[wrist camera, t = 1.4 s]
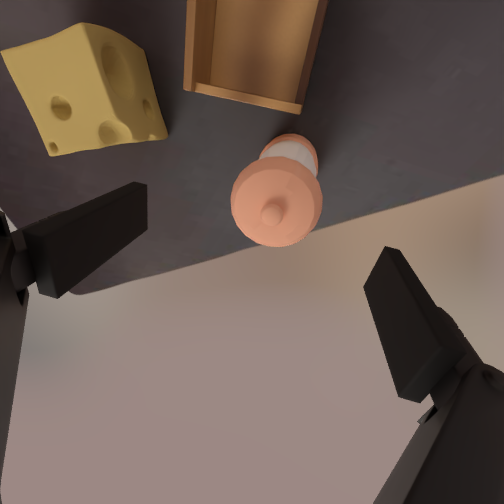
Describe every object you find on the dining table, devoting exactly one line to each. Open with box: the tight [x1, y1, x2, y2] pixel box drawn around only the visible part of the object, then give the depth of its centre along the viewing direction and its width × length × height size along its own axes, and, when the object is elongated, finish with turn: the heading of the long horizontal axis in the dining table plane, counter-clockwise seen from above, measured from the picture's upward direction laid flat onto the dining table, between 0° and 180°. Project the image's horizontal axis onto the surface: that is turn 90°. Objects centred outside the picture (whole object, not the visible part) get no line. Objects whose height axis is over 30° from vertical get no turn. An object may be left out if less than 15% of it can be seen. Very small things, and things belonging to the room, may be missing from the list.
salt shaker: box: [231, 133, 323, 247], centre depth 26 cm, size 7×7×19 cm
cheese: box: [1, 22, 168, 156], centre depth 30 cm, size 10×11×10 cm
